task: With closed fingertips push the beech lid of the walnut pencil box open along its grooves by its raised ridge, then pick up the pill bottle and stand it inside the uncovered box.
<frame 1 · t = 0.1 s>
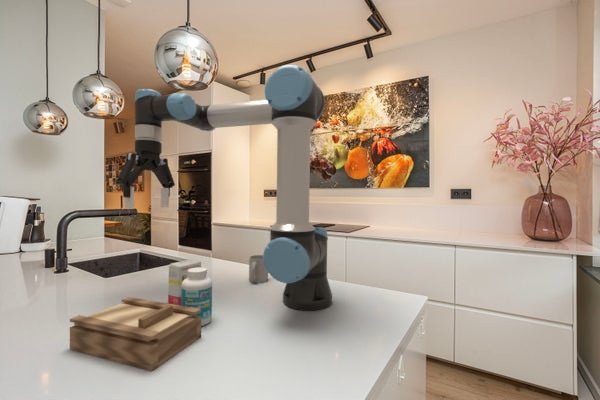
hand: (148, 208, 93), 28 cm above the worktop, fingers open, 13 cm apart
cup: (257, 281, 111), on the worktop
box: (138, 342, 64), on the worktop
lid: (135, 314, 65), point 6 cm above the worktop, slide at 0.0 cm
pill bottle: (196, 323, 75), on the worktop
ink box: (185, 301, 90), on the worktop
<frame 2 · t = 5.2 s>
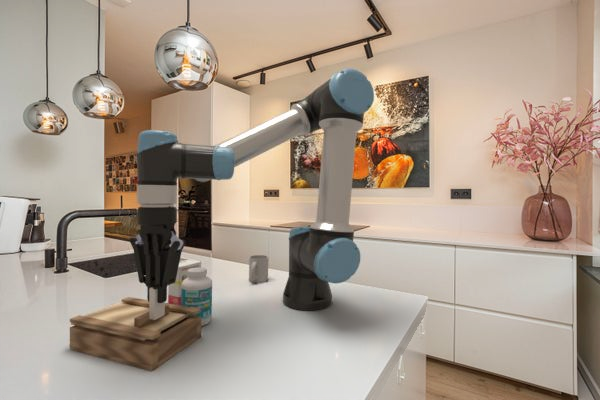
hand: (157, 316, 62), 7 cm above the worktop, fingers closed
lid: (131, 313, 65), point 6 cm above the worktop, slide at 1.1 cm, touching gripper
everything else where it was.
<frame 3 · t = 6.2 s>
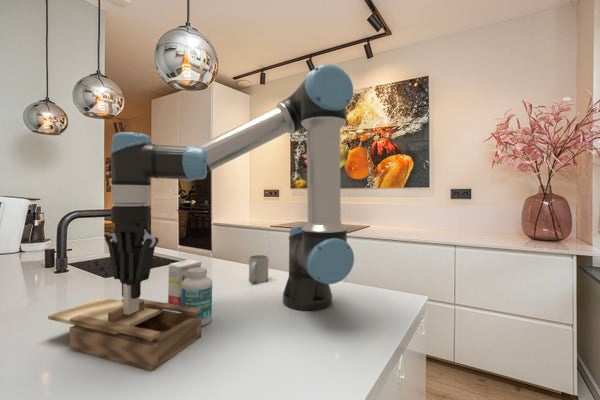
hand: (131, 311, 65), 7 cm above the worktop, fingers closed
lid: (107, 309, 67), point 6 cm above the worktop, slide at 8.3 cm, touching gripper
everything else where it was.
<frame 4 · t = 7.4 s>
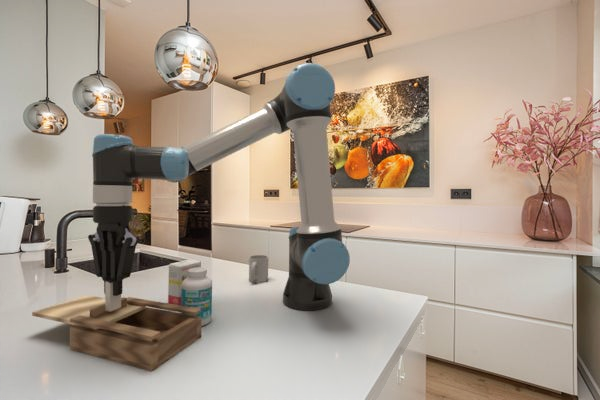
hand: (113, 308, 67), 6 cm above the worktop, fingers closed
lid: (90, 306, 69), point 6 cm above the worktop, slide at 13.8 cm, touching gripper
everything else where it was.
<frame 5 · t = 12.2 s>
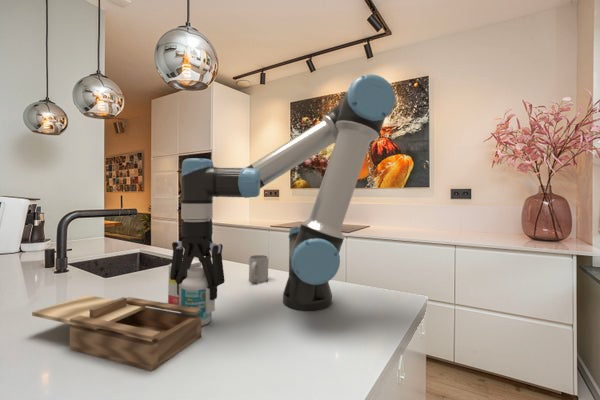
hand: (196, 309, 75), 3 cm above the worktop, fingers closed on pill bottle, 7 cm apart
lid: (90, 306, 69), point 6 cm above the worktop, slide at 13.8 cm
pill bottle: (196, 322, 75), on the worktop, touching gripper
everything else where it was.
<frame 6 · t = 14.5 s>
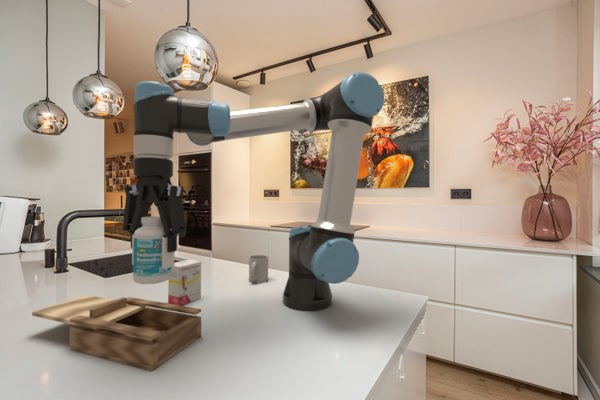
hand: (153, 265, 63), 17 cm above the worktop, fingers closed on pill bottle, 7 cm apart
pill bottle: (153, 281, 63), point 14 cm above the worktop, touching gripper
everything else where it was.
when the fingers open (7 cm above the worktop, at t = 16.8 s): pill bottle drops 3 cm, resting on box.
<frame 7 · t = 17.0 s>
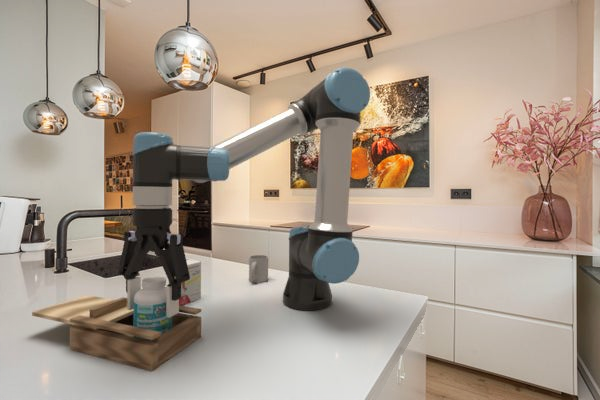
hand: (152, 311, 63), 7 cm above the worktop, fingers open, 10 cm apart
pill bottle: (152, 342, 63), point 1 cm above the worktop, touching box
everything else where it was.
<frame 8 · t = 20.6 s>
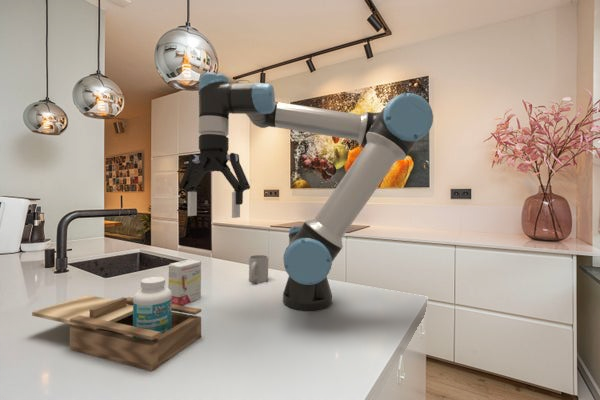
hand: (213, 216, 78), 27 cm above the worktop, fingers open, 13 cm apart
nothing on the worktop moved.
at the end: lid slide at 13.8 cm; pill bottle inside the target area on the box (1.1 cm from its centre), point 0.6 cm above the box's base; pill bottle tilted 0° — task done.
